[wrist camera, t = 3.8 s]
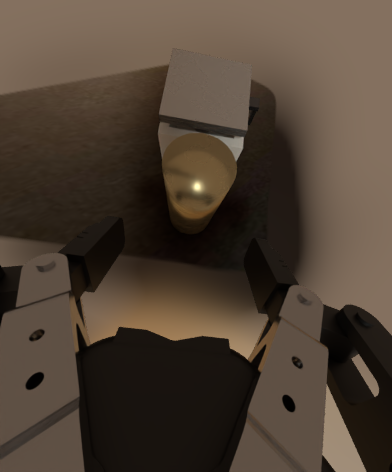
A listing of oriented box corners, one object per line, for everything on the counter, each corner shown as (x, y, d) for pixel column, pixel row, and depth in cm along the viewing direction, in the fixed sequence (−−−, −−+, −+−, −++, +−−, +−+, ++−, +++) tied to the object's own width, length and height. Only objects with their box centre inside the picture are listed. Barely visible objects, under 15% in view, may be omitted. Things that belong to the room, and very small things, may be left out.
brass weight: (167, 231, 20) (156, 193, 10) (172, 193, 21) (168, 126, 11) (207, 237, 20) (234, 204, 11) (211, 199, 21) (238, 139, 12)
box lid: (163, 148, 19) (158, 114, 15) (174, 92, 21) (172, 48, 17) (243, 161, 20) (259, 133, 16) (247, 106, 22) (263, 67, 17)
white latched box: (162, 163, 22) (157, 133, 17) (173, 109, 24) (171, 67, 19) (231, 175, 22) (245, 148, 17) (235, 121, 24) (249, 83, 19)
